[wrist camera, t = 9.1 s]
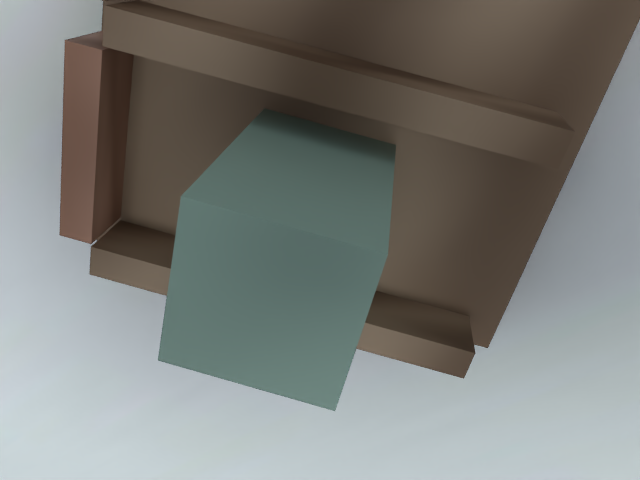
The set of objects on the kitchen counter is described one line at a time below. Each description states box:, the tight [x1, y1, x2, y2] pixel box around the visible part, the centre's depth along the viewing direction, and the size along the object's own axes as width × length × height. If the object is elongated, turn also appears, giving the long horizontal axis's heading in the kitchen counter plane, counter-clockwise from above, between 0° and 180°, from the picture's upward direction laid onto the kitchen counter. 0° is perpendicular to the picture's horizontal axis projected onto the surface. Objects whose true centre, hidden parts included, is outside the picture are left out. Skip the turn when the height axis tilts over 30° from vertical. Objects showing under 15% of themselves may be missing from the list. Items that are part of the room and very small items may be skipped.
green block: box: [158, 108, 396, 411], centre depth 15 cm, size 4×4×7 cm
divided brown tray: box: [60, 0, 640, 378], centre depth 16 cm, size 14×15×3 cm
